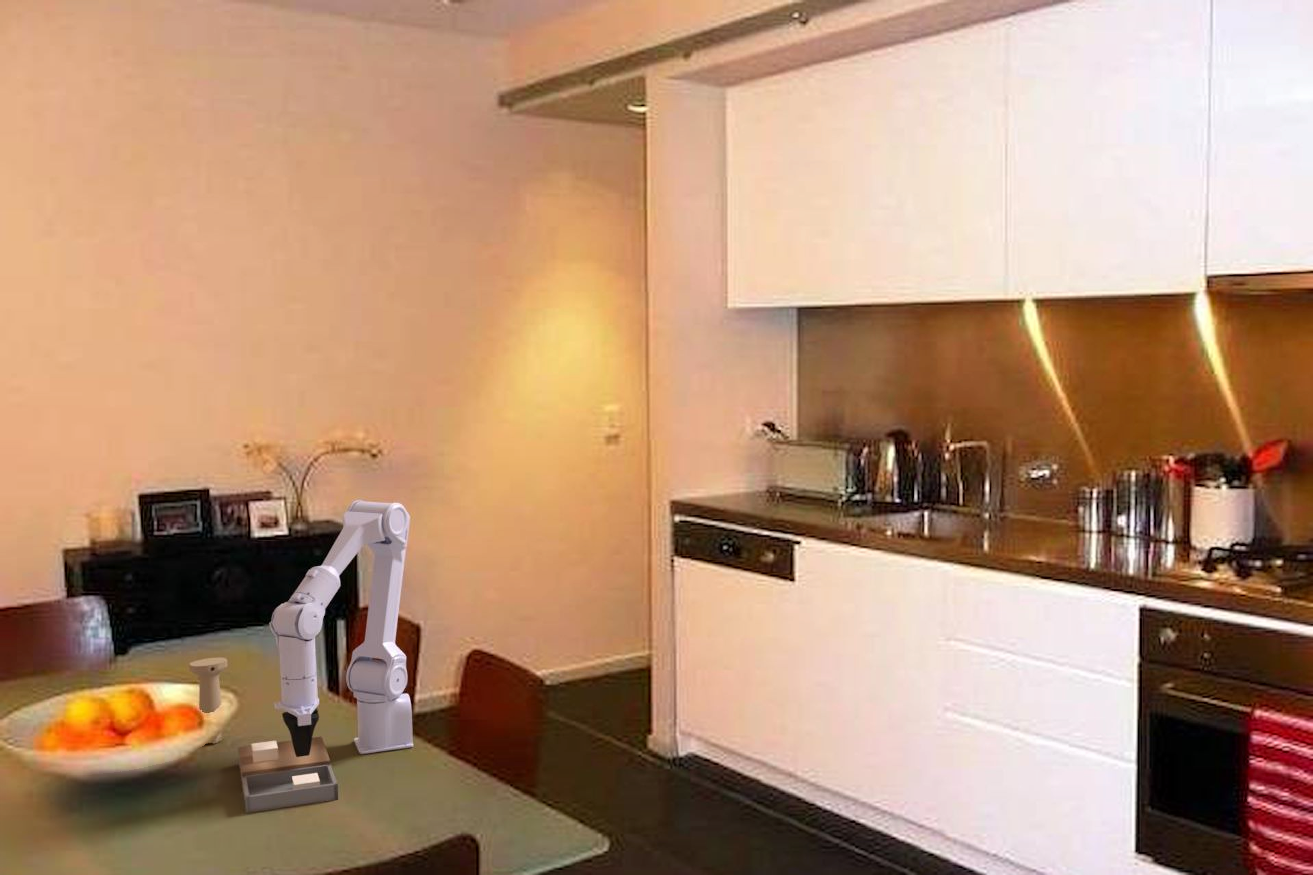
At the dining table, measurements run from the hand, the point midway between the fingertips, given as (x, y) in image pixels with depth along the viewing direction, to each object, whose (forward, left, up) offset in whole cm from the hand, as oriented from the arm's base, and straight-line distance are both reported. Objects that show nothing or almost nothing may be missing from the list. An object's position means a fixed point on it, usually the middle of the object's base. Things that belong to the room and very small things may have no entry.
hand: (302, 754), depth 203 cm
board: (+3, -7, -5) cm, 8 cm away
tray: (+3, +5, -5) cm, 7 cm away
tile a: (0, +6, -2) cm, 6 cm away
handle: (+14, -27, -5) cm, 31 cm away
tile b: (+6, -6, -2) cm, 9 cm away
